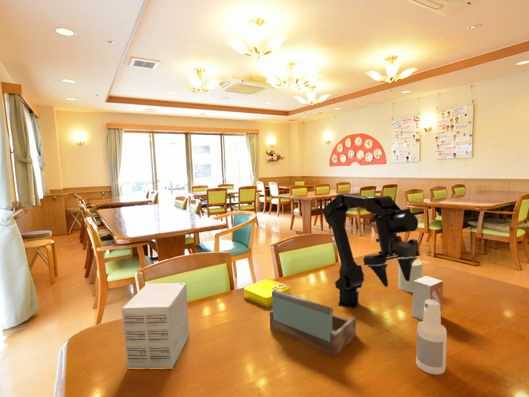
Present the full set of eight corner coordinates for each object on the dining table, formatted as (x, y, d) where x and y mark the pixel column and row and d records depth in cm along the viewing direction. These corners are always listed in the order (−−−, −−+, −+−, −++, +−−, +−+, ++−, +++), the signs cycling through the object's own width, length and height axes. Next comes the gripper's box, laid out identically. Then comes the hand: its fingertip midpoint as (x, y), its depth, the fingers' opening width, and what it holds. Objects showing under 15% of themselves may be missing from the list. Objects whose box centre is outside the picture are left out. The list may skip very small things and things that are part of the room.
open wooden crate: (293, 313, 114) (293, 297, 113) (355, 335, 98) (355, 317, 98) (270, 328, 104) (269, 311, 103) (334, 356, 88) (334, 336, 88)
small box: (429, 323, 104) (430, 286, 102) (411, 316, 109) (412, 280, 108) (442, 316, 108) (443, 280, 107) (424, 309, 114) (425, 275, 112)
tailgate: (276, 317, 104) (275, 288, 103) (333, 339, 90) (332, 306, 89) (272, 320, 102) (271, 290, 101) (329, 343, 88) (329, 309, 87)
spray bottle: (411, 359, 86) (412, 297, 84) (434, 357, 86) (436, 295, 84) (425, 376, 79) (427, 308, 77) (451, 374, 79) (454, 307, 77)
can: (422, 286, 134) (423, 259, 133) (420, 294, 126) (421, 265, 125) (399, 282, 139) (400, 256, 138) (396, 290, 131) (396, 262, 130)
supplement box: (150, 335, 102) (146, 282, 100) (190, 335, 102) (187, 282, 100) (125, 371, 85) (119, 307, 83) (173, 370, 85) (169, 307, 82)
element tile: (267, 287, 140) (267, 276, 140) (293, 296, 129) (292, 285, 129) (242, 297, 130) (241, 286, 129) (267, 309, 119) (267, 297, 118)
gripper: (384, 236, 89) (395, 291, 87) (428, 228, 97) (440, 279, 94) (358, 238, 99) (367, 288, 97) (400, 231, 107) (410, 277, 104)
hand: (397, 283), depth 98 cm, fingers open, 9 cm apart
